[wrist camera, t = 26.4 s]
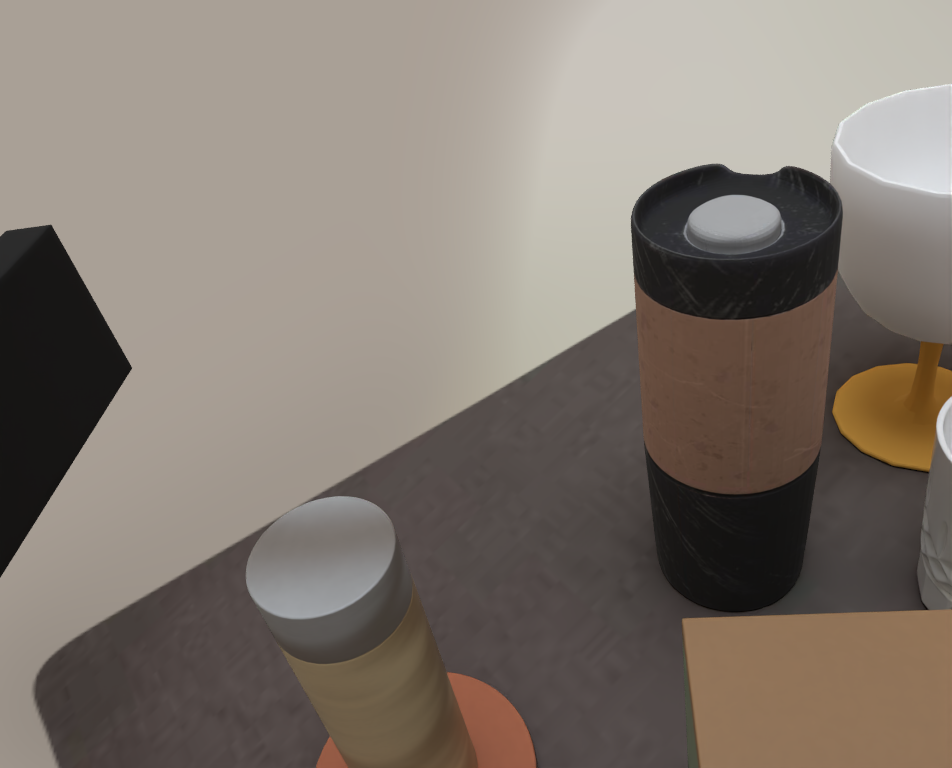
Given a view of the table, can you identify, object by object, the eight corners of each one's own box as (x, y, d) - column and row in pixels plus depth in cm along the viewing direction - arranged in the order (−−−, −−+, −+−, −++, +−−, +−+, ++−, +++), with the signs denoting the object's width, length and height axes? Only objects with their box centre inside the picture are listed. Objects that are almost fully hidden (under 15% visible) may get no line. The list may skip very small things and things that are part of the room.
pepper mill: (487, 799, 38) (400, 996, 24) (380, 798, 39) (237, 987, 25) (467, 483, 39) (374, 496, 25) (364, 489, 40) (221, 506, 26)
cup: (774, 377, 53) (788, 117, 42) (956, 334, 53) (1016, 63, 42) (870, 513, 44) (919, 223, 33) (1090, 461, 44) (1210, 155, 33)
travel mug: (702, 641, 40) (696, 287, 27) (626, 530, 46) (593, 198, 33) (841, 580, 41) (897, 214, 28) (750, 480, 47) (762, 140, 34)
